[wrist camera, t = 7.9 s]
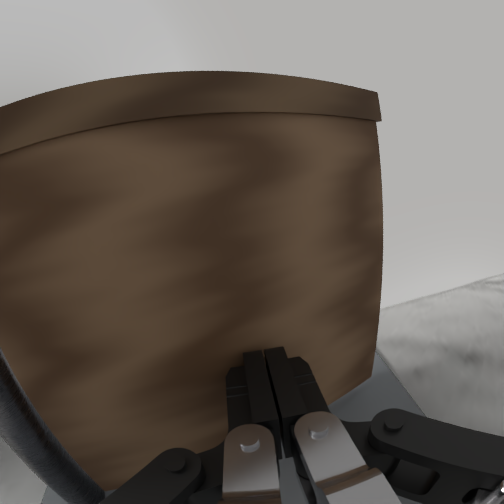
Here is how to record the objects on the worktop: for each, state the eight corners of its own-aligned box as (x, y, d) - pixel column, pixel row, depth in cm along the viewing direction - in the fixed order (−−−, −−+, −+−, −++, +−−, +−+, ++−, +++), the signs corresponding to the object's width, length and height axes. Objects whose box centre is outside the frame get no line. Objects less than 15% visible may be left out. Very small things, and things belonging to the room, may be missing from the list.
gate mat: (32, 564, 3) (24, 560, 3) (100, 377, 20) (98, 372, 20) (489, 520, 4) (495, 516, 4) (364, 344, 21) (365, 338, 21)
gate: (101, 495, 8) (-53, 131, 4) (96, 465, 10) (-29, 140, 5) (375, 376, 15) (377, 92, 11) (353, 362, 17) (346, 99, 12)
